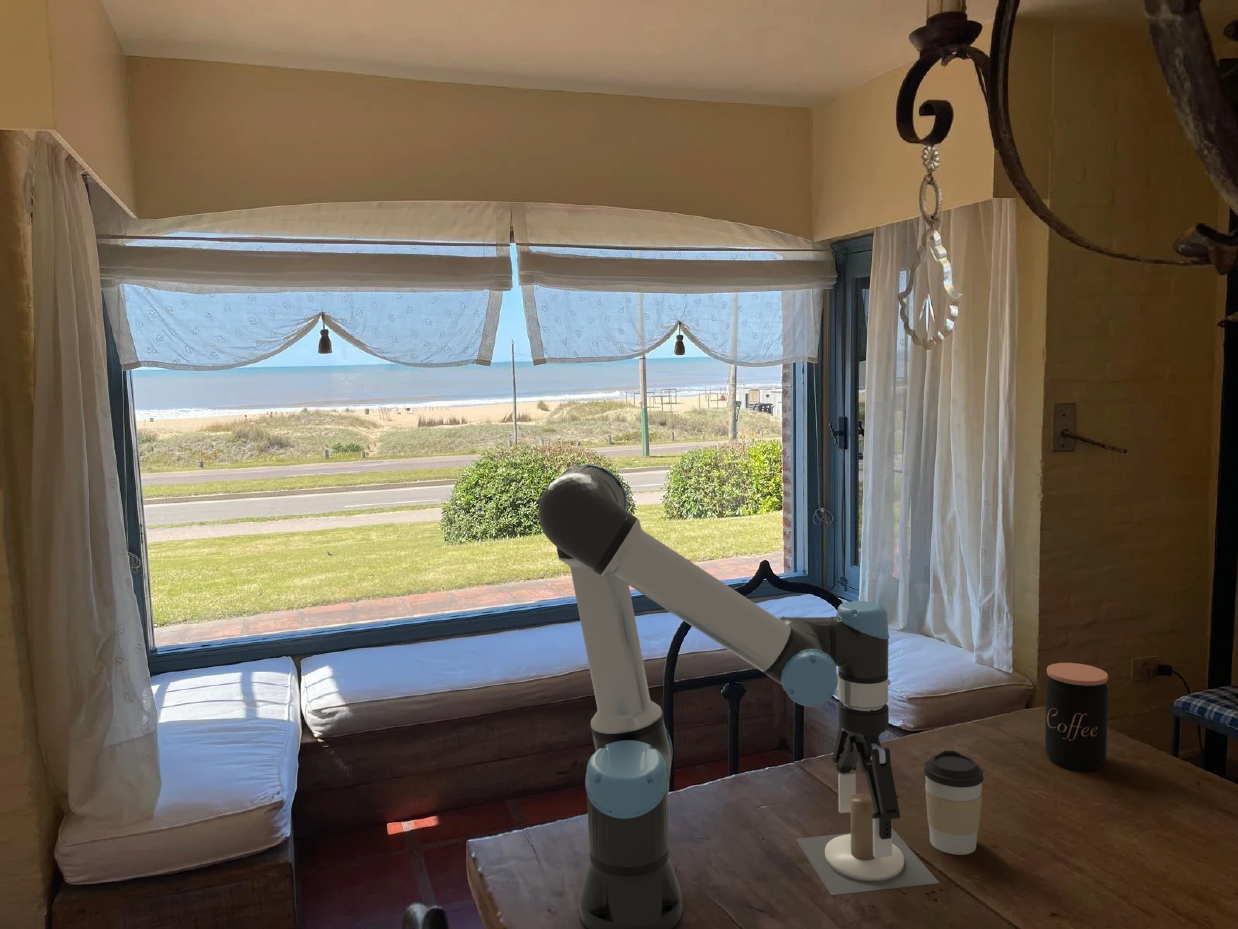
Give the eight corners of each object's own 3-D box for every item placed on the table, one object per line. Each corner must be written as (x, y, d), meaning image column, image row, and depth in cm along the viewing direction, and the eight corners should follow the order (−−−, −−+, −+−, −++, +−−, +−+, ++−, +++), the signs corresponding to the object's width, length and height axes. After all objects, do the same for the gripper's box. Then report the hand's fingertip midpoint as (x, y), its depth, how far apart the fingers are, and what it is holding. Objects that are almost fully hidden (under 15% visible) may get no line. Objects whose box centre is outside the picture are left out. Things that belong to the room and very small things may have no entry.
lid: (842, 885, 131) (841, 822, 130) (814, 844, 143) (813, 785, 142) (917, 876, 133) (917, 814, 132) (883, 836, 145) (883, 778, 144)
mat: (831, 900, 129) (831, 895, 129) (795, 843, 145) (795, 838, 145) (939, 888, 131) (939, 883, 131) (892, 833, 147) (892, 828, 147)
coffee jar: (1035, 760, 172) (1037, 672, 170) (1057, 744, 179) (1059, 659, 177) (1094, 778, 164) (1096, 685, 162) (1114, 759, 171) (1116, 670, 170)
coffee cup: (988, 865, 137) (989, 773, 135) (927, 860, 139) (928, 770, 137) (976, 835, 146) (977, 749, 144) (919, 831, 147) (920, 746, 146)
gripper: (924, 732, 124) (924, 874, 126) (854, 673, 148) (855, 793, 150) (873, 737, 123) (874, 880, 125) (811, 677, 147) (813, 797, 149)
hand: (864, 832), depth 138 cm, fingers open, 13 cm apart
